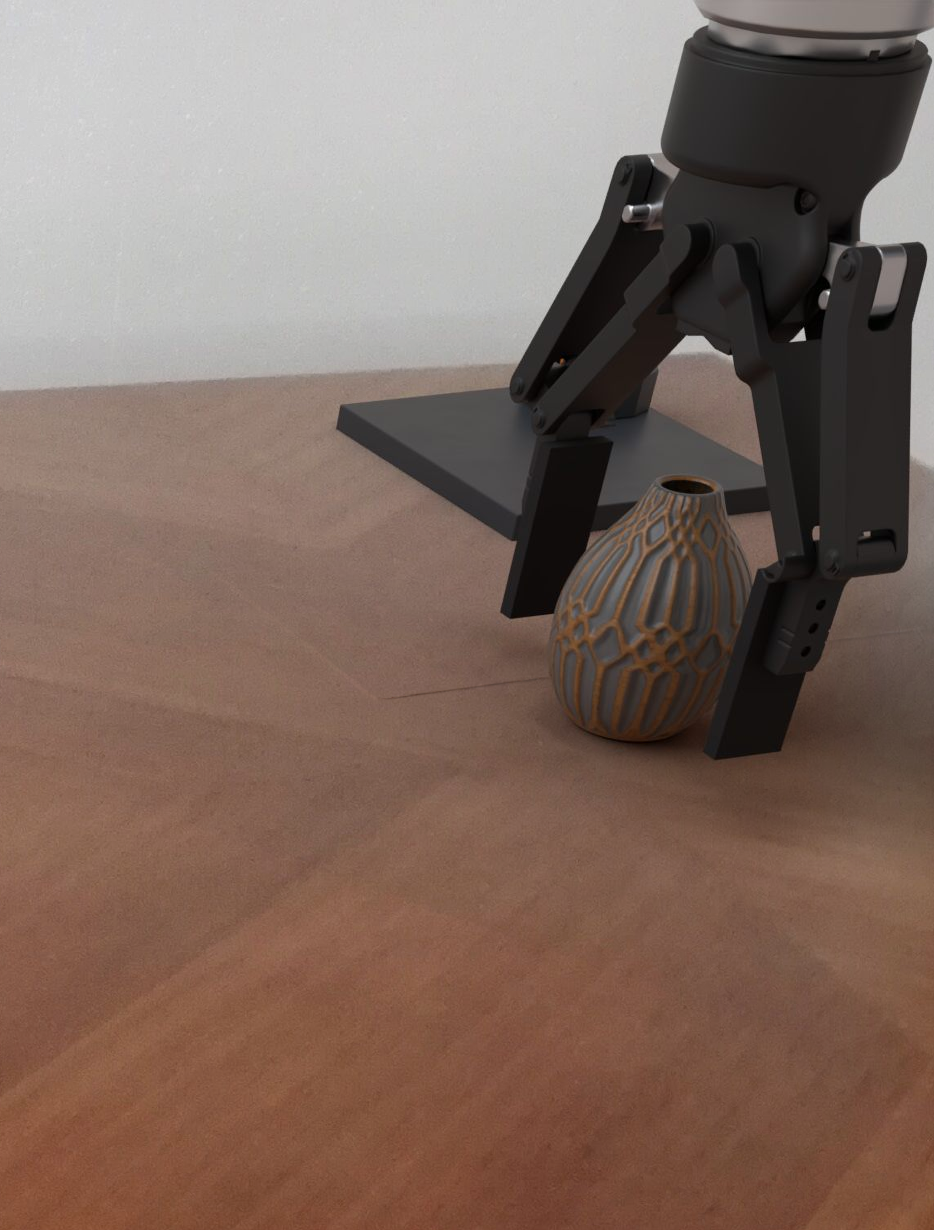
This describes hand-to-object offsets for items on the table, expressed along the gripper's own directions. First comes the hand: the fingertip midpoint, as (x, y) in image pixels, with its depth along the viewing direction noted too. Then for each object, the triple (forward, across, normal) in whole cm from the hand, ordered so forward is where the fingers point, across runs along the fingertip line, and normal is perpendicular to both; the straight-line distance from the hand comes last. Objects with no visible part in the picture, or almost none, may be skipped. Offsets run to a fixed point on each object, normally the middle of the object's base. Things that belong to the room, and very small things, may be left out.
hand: (632, 679), depth 93 cm
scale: (+2, +26, -13) cm, 29 cm away
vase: (+2, 0, 0) cm, 2 cm away
